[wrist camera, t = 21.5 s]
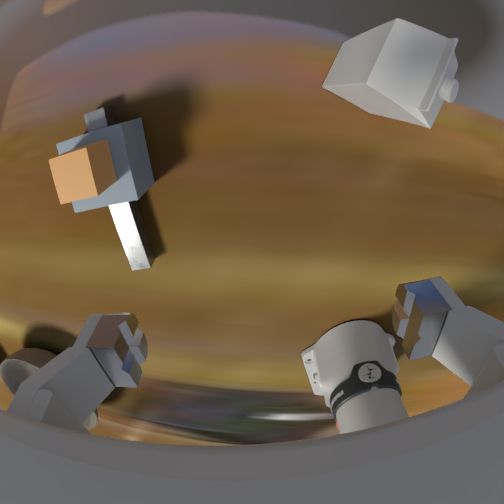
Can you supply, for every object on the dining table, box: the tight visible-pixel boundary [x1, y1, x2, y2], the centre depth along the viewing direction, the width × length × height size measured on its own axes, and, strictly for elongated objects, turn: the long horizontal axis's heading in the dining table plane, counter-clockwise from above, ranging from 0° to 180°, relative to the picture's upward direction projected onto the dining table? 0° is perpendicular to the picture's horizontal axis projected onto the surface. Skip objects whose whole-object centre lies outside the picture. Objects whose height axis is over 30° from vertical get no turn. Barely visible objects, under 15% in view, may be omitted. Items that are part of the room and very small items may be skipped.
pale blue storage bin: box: [56, 118, 155, 213], centre depth 33 cm, size 9×9×7 cm
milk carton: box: [322, 18, 459, 129], centre depth 23 cm, size 7×7×19 cm
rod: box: [84, 106, 155, 270], centre depth 37 cm, size 23×3×3 cm, turn 9°
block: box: [49, 139, 117, 204], centre depth 28 cm, size 5×5×5 cm
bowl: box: [0, 348, 98, 429], centre depth 55 cm, size 28×28×10 cm
